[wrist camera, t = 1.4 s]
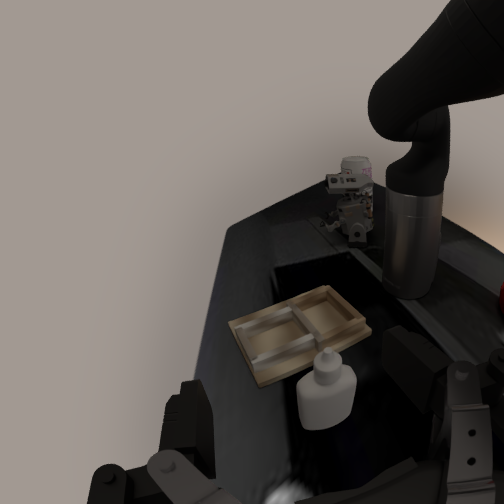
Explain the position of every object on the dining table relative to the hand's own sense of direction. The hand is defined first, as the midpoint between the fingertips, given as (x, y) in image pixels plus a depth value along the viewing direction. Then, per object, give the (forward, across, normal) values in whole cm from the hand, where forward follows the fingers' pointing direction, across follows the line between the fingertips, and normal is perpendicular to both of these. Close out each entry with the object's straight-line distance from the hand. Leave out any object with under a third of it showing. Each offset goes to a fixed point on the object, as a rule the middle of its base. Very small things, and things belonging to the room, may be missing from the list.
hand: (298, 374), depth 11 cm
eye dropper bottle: (+11, -4, +18) cm, 22 cm away
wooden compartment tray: (+25, -5, +14) cm, 30 cm away
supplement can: (+60, -35, +5) cm, 70 cm away
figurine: (+48, -25, +9) cm, 54 cm away
